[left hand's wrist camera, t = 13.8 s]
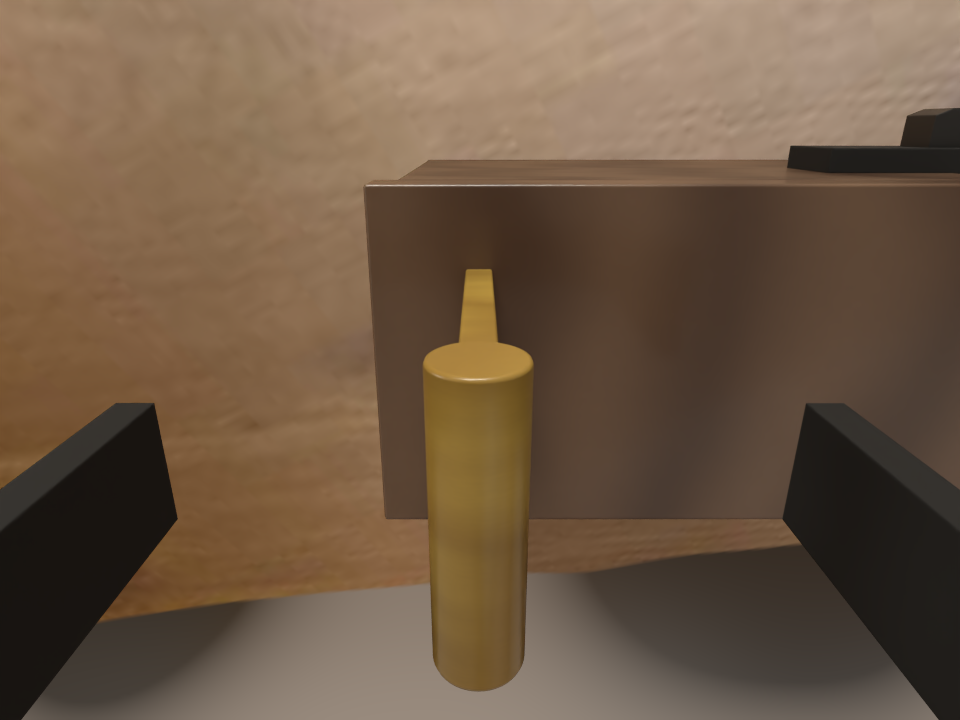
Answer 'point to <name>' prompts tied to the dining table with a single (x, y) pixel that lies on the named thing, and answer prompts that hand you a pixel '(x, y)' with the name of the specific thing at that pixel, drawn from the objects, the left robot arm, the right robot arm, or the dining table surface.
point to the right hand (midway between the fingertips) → (779, 315)
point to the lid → (638, 359)
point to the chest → (640, 171)
